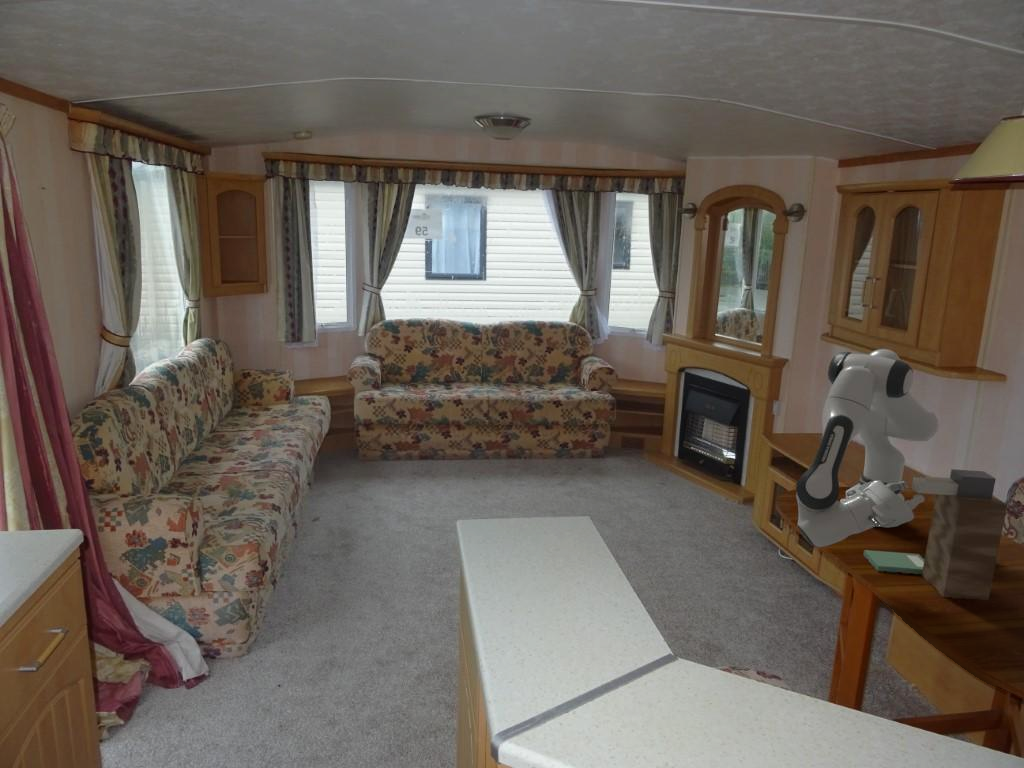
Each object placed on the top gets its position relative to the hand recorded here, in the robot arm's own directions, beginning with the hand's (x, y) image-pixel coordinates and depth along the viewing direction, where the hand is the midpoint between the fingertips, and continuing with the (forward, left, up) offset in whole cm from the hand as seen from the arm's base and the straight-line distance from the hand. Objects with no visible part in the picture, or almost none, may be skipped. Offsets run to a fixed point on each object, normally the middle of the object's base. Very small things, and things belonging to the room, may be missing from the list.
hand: (914, 490), depth 188 cm
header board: (-11, +5, -26) cm, 29 cm away
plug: (0, +9, 0) cm, 9 cm away
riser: (0, +14, -26) cm, 30 cm away
